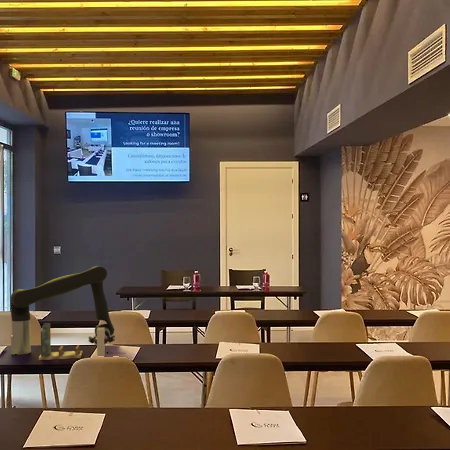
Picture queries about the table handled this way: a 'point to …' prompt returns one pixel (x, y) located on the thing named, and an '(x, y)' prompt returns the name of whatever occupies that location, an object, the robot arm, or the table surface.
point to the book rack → (46, 347)
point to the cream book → (100, 341)
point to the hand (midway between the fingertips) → (100, 342)
